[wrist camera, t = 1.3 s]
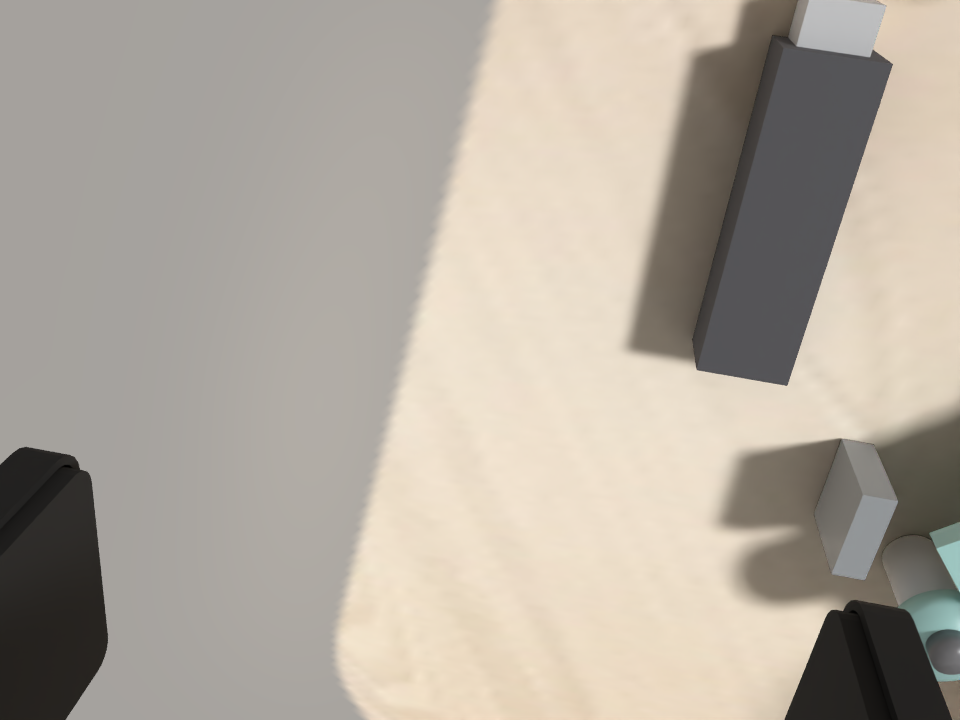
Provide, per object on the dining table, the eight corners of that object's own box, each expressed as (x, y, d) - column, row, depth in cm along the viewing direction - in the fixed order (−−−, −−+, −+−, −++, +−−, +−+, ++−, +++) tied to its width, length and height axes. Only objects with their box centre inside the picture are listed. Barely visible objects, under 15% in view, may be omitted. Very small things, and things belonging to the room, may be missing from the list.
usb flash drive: (785, -14, 23) (798, -5, 22) (888, 0, 23) (910, 11, 21) (692, 339, 28) (696, 370, 26) (777, 353, 28) (787, 385, 26)
